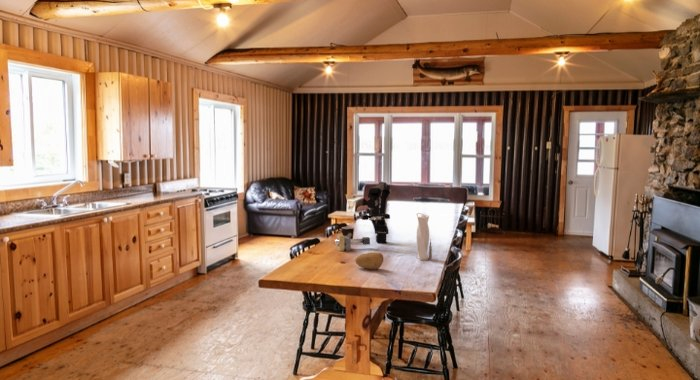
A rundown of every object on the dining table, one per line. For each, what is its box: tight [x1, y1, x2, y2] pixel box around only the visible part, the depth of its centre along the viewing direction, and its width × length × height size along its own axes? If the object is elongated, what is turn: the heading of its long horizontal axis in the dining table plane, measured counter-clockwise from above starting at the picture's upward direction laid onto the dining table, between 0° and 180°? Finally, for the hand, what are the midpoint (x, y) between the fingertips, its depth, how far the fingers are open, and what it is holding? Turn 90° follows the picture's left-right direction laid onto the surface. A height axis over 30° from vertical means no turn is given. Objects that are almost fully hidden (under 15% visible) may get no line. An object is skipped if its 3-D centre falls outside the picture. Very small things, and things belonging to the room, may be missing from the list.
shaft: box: [334, 236, 371, 246], centre depth 303 cm, size 22×4×4 cm, turn 103°
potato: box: [354, 251, 384, 271], centre depth 254 cm, size 9×16×9 cm, turn 70°
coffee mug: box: [336, 226, 355, 239], centre depth 325 cm, size 12×9×10 cm
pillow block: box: [344, 236, 352, 252], centre depth 302 cm, size 3×9×8 cm, turn 13°
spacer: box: [336, 233, 345, 252], centre depth 301 cm, size 3×8×10 cm, turn 13°
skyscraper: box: [416, 212, 433, 262], centre depth 276 cm, size 8×8×28 cm
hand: (375, 229), depth 308 cm, fingers closed
